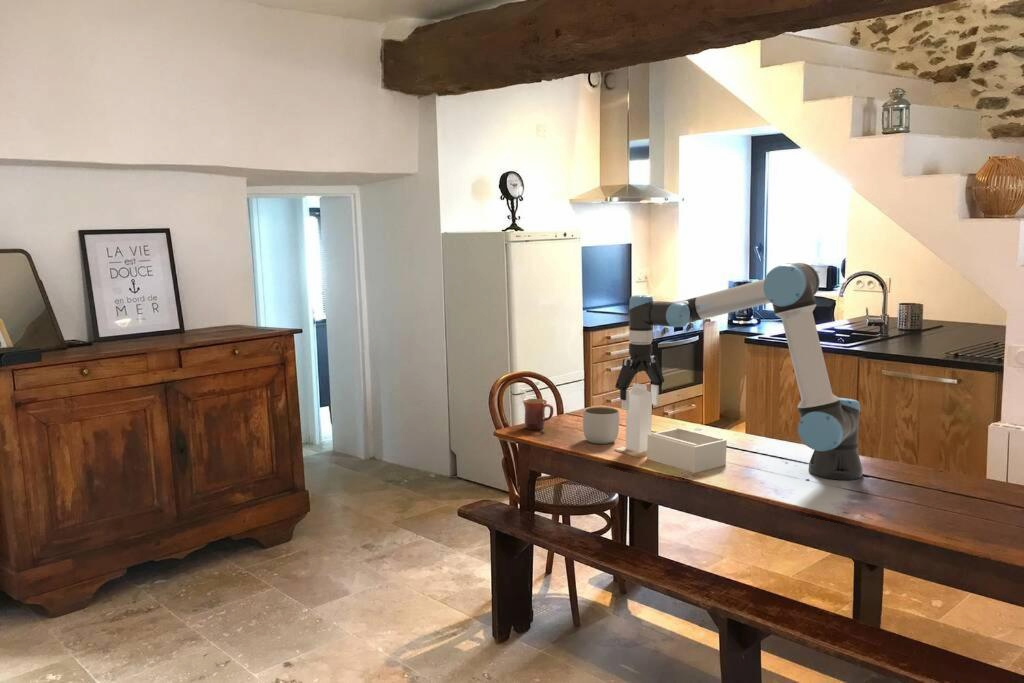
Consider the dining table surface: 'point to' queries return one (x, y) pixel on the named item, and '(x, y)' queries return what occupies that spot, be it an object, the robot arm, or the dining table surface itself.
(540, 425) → the mug
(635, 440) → the milk
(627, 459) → the dining table surface
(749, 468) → the dining table surface
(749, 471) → the dining table surface
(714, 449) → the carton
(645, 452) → the mat
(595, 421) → the planter
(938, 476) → the dining table surface
